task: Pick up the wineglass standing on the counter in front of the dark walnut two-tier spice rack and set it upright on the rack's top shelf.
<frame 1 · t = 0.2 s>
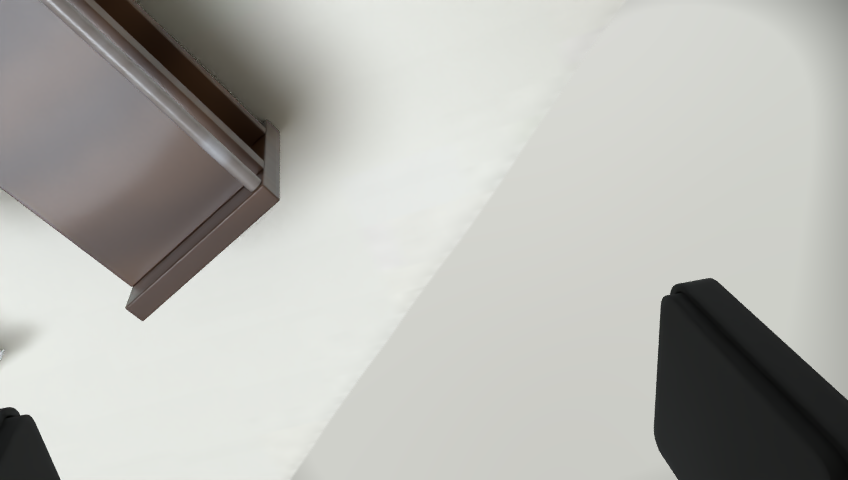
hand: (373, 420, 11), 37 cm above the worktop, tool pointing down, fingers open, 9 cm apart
rack: (108, 78, 43), on the worktop
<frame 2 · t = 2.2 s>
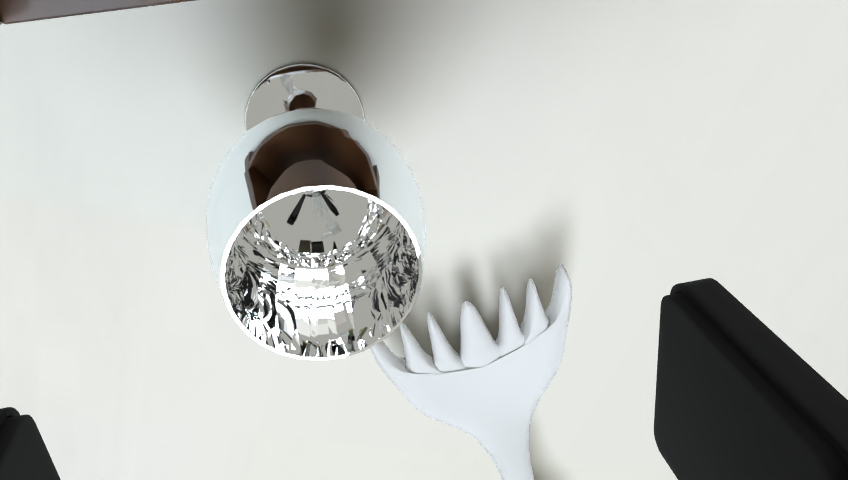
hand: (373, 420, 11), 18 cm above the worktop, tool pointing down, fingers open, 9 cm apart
wineglass: (305, 121, 28), on the worktop
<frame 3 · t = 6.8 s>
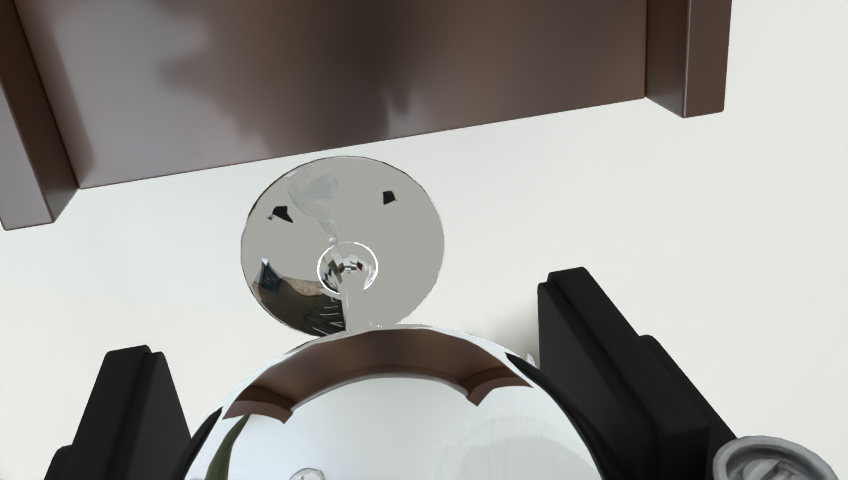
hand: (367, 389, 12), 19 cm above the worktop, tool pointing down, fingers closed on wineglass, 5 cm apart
wineglass: (344, 248, 16), point 14 cm above the worktop, touching gripper
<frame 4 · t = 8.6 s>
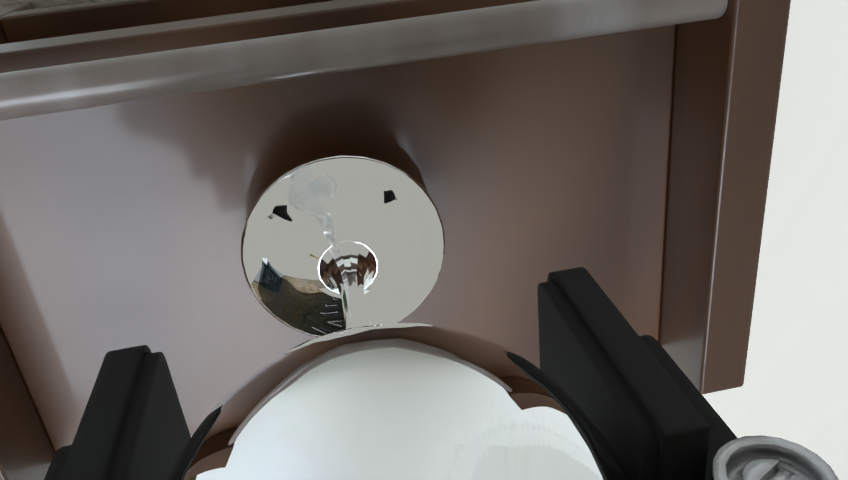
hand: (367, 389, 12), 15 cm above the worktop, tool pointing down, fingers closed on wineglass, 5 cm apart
wineglass: (344, 247, 16), point 10 cm above the worktop, touching gripper
rack: (324, 122, 25), on the worktop
when the fingers open (14 cm above the worktop, at t = 9.4 s): wineglass stays where it is, resting on rack.
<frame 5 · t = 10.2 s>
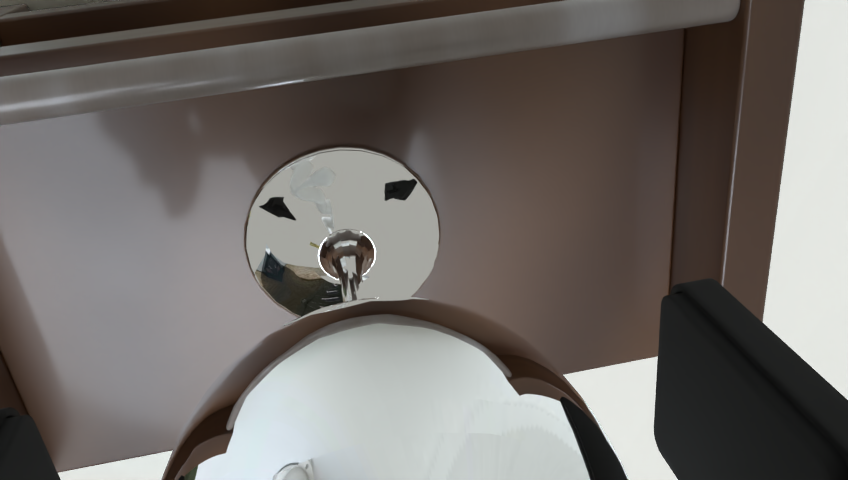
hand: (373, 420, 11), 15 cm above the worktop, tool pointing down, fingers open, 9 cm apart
wineglass: (343, 235, 17), point 9 cm above the worktop, touching rack
rack: (325, 125, 24), on the worktop
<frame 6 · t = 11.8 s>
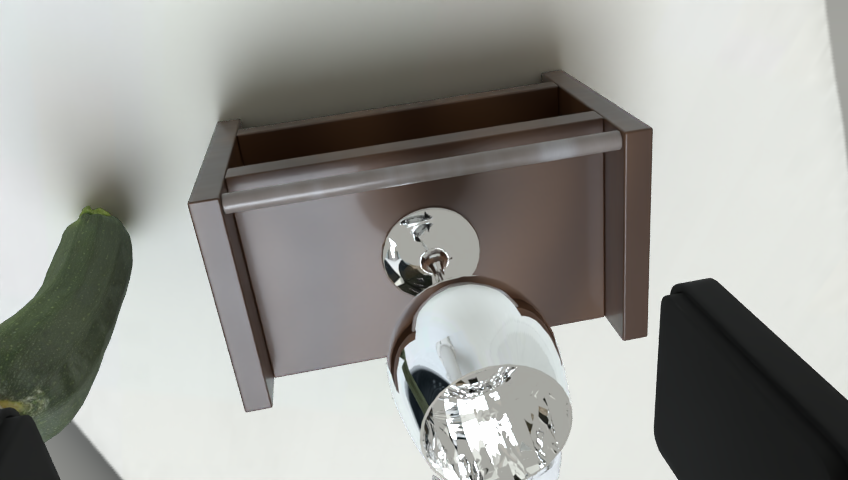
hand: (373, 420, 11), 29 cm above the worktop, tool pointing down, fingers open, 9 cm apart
wineglass: (430, 251, 32), point 9 cm above the worktop, touching rack
vegetable: (110, 232, 39), on the worktop
rack: (405, 183, 40), on the worktop
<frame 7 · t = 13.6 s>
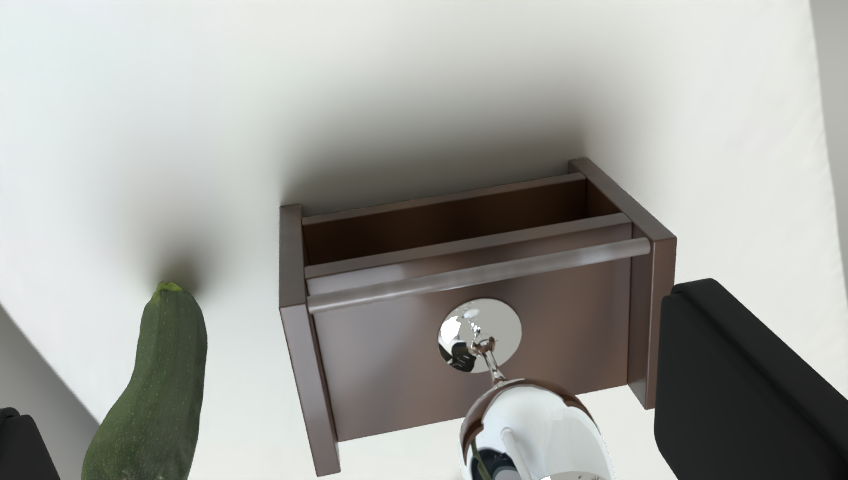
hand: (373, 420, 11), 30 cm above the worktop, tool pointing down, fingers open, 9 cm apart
wineglass: (478, 333, 37), point 9 cm above the worktop, touching rack
vegetable: (178, 302, 43), on the worktop
rack: (444, 255, 45), on the worktop
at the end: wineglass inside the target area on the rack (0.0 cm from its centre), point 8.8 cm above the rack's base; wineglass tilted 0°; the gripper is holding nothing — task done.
